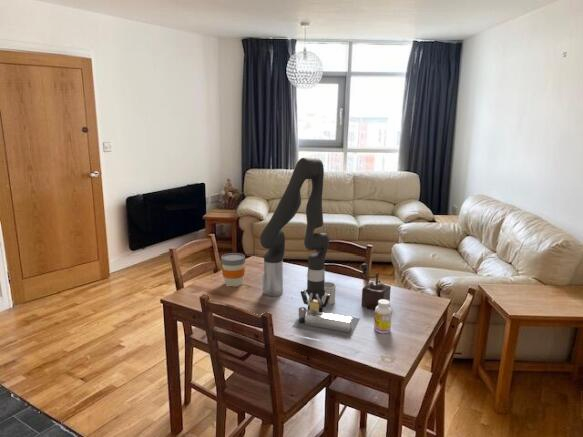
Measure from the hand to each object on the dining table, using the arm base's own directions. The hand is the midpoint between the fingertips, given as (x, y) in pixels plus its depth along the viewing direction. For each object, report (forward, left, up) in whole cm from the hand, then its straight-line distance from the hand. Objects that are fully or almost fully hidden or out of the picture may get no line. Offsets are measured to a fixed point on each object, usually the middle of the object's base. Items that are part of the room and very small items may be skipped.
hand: (315, 313), depth 189 cm
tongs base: (+7, -9, 0) cm, 12 cm away
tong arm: (+9, -8, 0) cm, 11 cm away
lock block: (0, 0, 0) cm, 0 cm away
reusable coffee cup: (-51, +18, -1) cm, 54 cm away
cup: (0, +15, -1) cm, 16 cm away
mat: (+7, -6, -1) cm, 9 cm away
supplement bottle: (+30, -3, -1) cm, 30 cm away
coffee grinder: (+21, +20, -1) cm, 29 cm away
